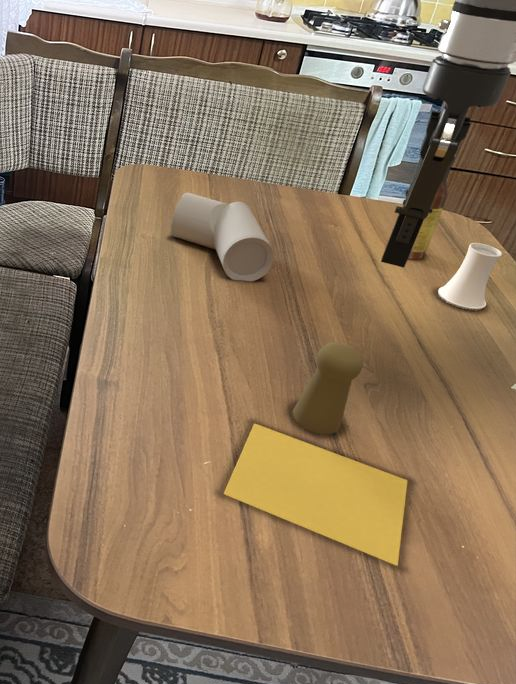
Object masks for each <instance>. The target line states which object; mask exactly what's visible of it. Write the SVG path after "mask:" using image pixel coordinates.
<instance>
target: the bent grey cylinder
mask: <svg viewBox="0 0 516 684" xmlns="http://www.w3.org/2000/svg"><path fill="white" fill-rule="evenodd" d="M170 224H171V225H170V234H171V236H172V237H174V238H177V239H180V240H183V241H187V242H189V243H193V244H196V245H199V246H202V247H205V248H209V249H211V250H214V251H216V253H217V256H218V258H219V261H220V264H221V266H222V269H223V271H224V273H225V274H226V276H228V278H230V279H231V280H233V281H245V282H255V281H257V280H259V279H261V278H263V277H264V276H265V275H266V274H267V273H268V272H269V271H270V270H271V268H272V267H273V264H274V260H275V259H274V258H275V254H274V253H275V252H274V250H273V247H272V246H271V244H270V242H269V240H268V238H267V237H266V235H265V232H264V231H263V230H262V227H261V225H260V224H259V222H258V221H257V219H256V217H255V215H254V213H253V211H252V210H251V208H250V207H249V206H248V204H246V203H245V202H242V201H233V202H231V203H226V202H222V201H219V200H216V199H213V198H208V197H206V196H203V195H202V196H201V195H197V194H194V193H191V192H185V193H183V195H182V196H181V197H180V199H179V201H178V203H177V205H176V208H175V210H174V213H173V216H172V220H171V223H170Z"/></svg>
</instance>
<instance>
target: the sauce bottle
mask: <svg viewBox="0 0 516 684" xmlns="http://www.w3.org/2000/svg"><path fill="white" fill-rule="evenodd" d="M456 157H457V154H455V157H454V159H453V161H452V162H450V163H449V165H448V168H447V170H446V172H445V174H444V177H443V179H442V181H441V184H440V186H439V188H438V191H437V193H436V195H435V197H434V200H433V202H432V204H431V207H433V210H432V213H429V214H428V216H427V217H426V218H425V219H424V221H423V223H422V225H421V228H420V230H419V233H418V235H417V238H416V240H415V243H414V245H413V247H412V250H411V252H410V255H409V257H408V260H412V261H414V260H415V261H417V260H422V259H423V258H424V256H425V254H426V252H427V251H428V248H429V245H430V243H431V240H432V238H433V235H434V232H435V230H436V227H437V224H438V222H439V220H440V217H441V215H442V212H443V209H444V207H445V203H446V201H447V200H446V199H447V197H448V185H447V184H448V183H447V179H448V176H449V172H450V170H451V167H452V165H453V164H454V163H455V160H456Z"/></svg>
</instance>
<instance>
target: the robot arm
mask: <svg viewBox="0 0 516 684" xmlns="http://www.w3.org/2000/svg"><path fill="white" fill-rule="evenodd" d="M451 9H452V10H451V12H450V13H449V18H450V19H441V20H440V22H439V24H438V28H439V30H442V31H444V32H443V33H442V35H441V38H440V40H439V43H438V46H437V51H438V52H439V53H440V54H441V55H438V56H436V57H435V58H433V59H432V61H431V63H430V66H429V68H428V71H427V75H426V77H425V79H424V83H423V85H422V92H423V93H424V95H426V96H427V97H429V98H431V99H433V100H435V101H436V100H437V101H442V104H441V107H440V109H439V111H434V110H431V112H430V114H429V118H428V120H427V124H426V130H425V135H424V137H423V139H422V143H421V147H420V151H419V159H418V162H417V165H416V168H415V170H414V173H413V175H412V178H411V181H410V184H409V186H408V189H407V190H406V191H405V195H404V196H405V199H403V201H402V206H399V205H396V206H395V210H394V213H395V214H398V215H397V218H396V220H395V222H394V225H393V228H392V231H391V233H390V236H389V238H388V241H387V243H386V246H385V249H384V251H383V254H382V256H381V260H380V262H381V263H384V264H388V265H392V266H396V267H400V268H405V267H406V265H407V263H408V260H409V259H408V257H409V255H410V252H411V250H412V247H413V245H414V243H415V240H416V238H417V235H418V233H419V230H420V228H421V225H422V223H423V221H424V219H425V218H426V217H427V216H428V214H429V213H432V210H433V207H431V204H432V202H433V200H434V197H435V195H436V193H437V191H438V188H439V186H440V184H441V181H442V179H443V177H444V174H445V172H446V170H447V168H448V165H449V163H450V162H452V161H453V159H454V157H455V155H457V153H458V149H459V148H460V144H461V142H462V141H463V140H465V138H466V136H467V135H468V132H469V130H470V126H471V124H472V123H471V117H468V116H467V114H468V110H469V108H472V107H477V108H489V107H493V106H495V105H497V104H498V103H499V102H500V99H501V98H502V95H503V93H504V91H505V88H506V85H507V83H508V81H509V79H510V76H511V74H512V71H511V69H510V67H508V66H509V65H511V64H514V63H516V0H454V2H453V5H452V7H451Z"/></svg>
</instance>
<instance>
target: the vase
mask: <svg viewBox="0 0 516 684" xmlns="http://www.w3.org/2000/svg"><path fill="white" fill-rule="evenodd" d="M502 255H503V253H502V251H501V250H499V249H498V248H496V247H494V246H491V245H488V244H485V243H480V242H472V243H470V244H469V246H468V249H467V252H466V255H465V257H464V259H463V261H462V263H461V265H460V267H459V268H458V270H457V271H456V272H455V274H454V275H453V276H452V278H450V280H449V281H447V282H446V284H444V286H441V287H439V288H438V290H437V293H438V294H437V295H438V298H439V299H441V300H442V301H443V302H445V303H446V304H449V305H451V306H452V307H454V308H459V309H461V310H466V311H469V312H470V311H472V312H473V311H474V312H477V311H481V310H482V309H484V308H486V306H487V302H486V300H485V298H486V297H485V296H486V288H487V284H488V280H489V278H490V276H491V273H492V270H493V269H494V267H495V265H496V263H497V262H498V260H499V259H500V258H501V256H502Z"/></svg>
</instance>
